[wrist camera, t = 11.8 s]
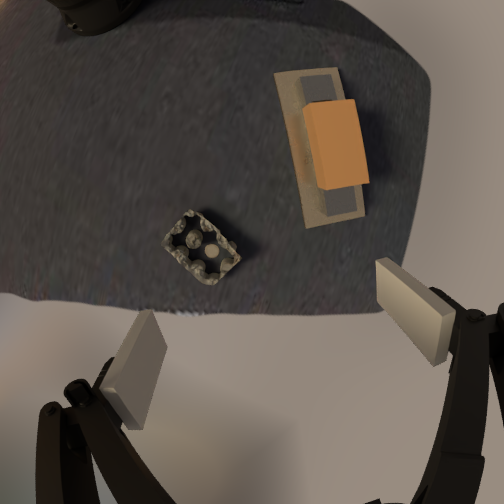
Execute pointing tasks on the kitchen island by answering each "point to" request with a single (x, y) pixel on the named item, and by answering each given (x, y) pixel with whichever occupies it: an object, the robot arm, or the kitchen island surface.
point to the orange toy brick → (336, 144)
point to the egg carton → (194, 242)
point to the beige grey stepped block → (311, 196)
